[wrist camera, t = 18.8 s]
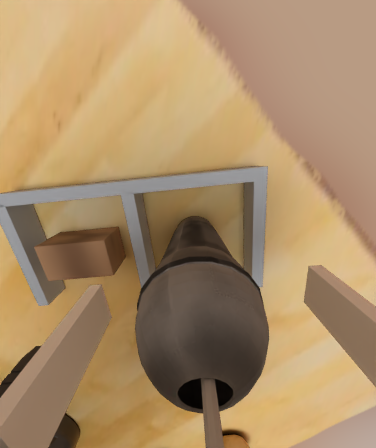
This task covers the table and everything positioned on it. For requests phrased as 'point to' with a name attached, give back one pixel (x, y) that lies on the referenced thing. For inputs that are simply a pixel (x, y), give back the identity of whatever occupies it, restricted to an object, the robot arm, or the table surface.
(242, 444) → the onion
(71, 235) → the walnut bar
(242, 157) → the table surface
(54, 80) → the table surface
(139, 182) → the slot rack
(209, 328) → the beverage cup
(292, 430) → the table surface
